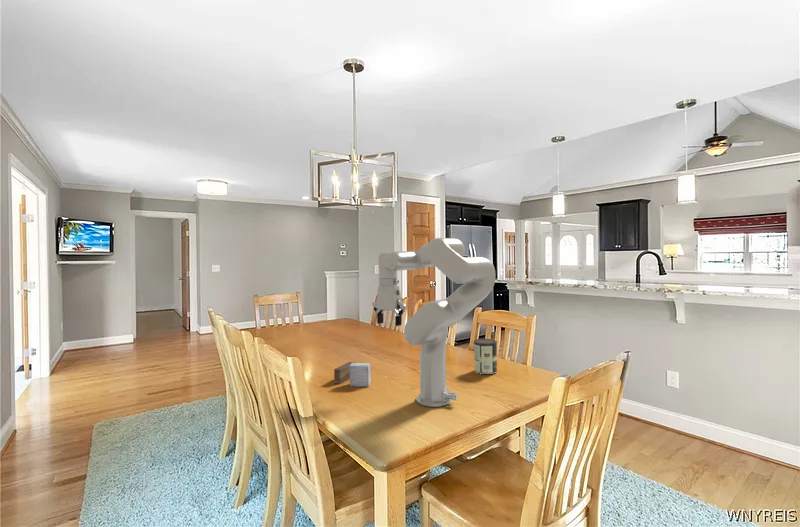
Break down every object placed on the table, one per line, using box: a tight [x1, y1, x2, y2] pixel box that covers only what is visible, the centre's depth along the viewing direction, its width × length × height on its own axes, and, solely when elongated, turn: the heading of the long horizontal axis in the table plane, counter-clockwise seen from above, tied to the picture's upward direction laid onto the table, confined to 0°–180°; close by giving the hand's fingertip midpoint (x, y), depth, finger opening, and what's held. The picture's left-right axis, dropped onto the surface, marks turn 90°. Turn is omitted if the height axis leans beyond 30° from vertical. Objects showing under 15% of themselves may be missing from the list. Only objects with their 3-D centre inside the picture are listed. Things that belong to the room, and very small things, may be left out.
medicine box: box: [349, 362, 372, 388], centre depth 163 cm, size 8×4×9 cm, turn 84°
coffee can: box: [473, 338, 498, 375], centre depth 178 cm, size 10×10×14 cm
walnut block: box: [333, 361, 356, 385], centre depth 171 cm, size 3×12×6 cm, turn 155°
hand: (389, 324), depth 160 cm, fingers open, 9 cm apart
